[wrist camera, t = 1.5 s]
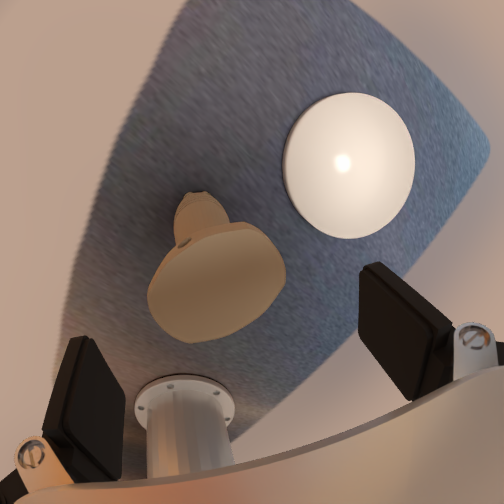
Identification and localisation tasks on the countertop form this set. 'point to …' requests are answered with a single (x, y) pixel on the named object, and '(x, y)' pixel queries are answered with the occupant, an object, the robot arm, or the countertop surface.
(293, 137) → the plate
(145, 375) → the countertop surface
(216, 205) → the handle
